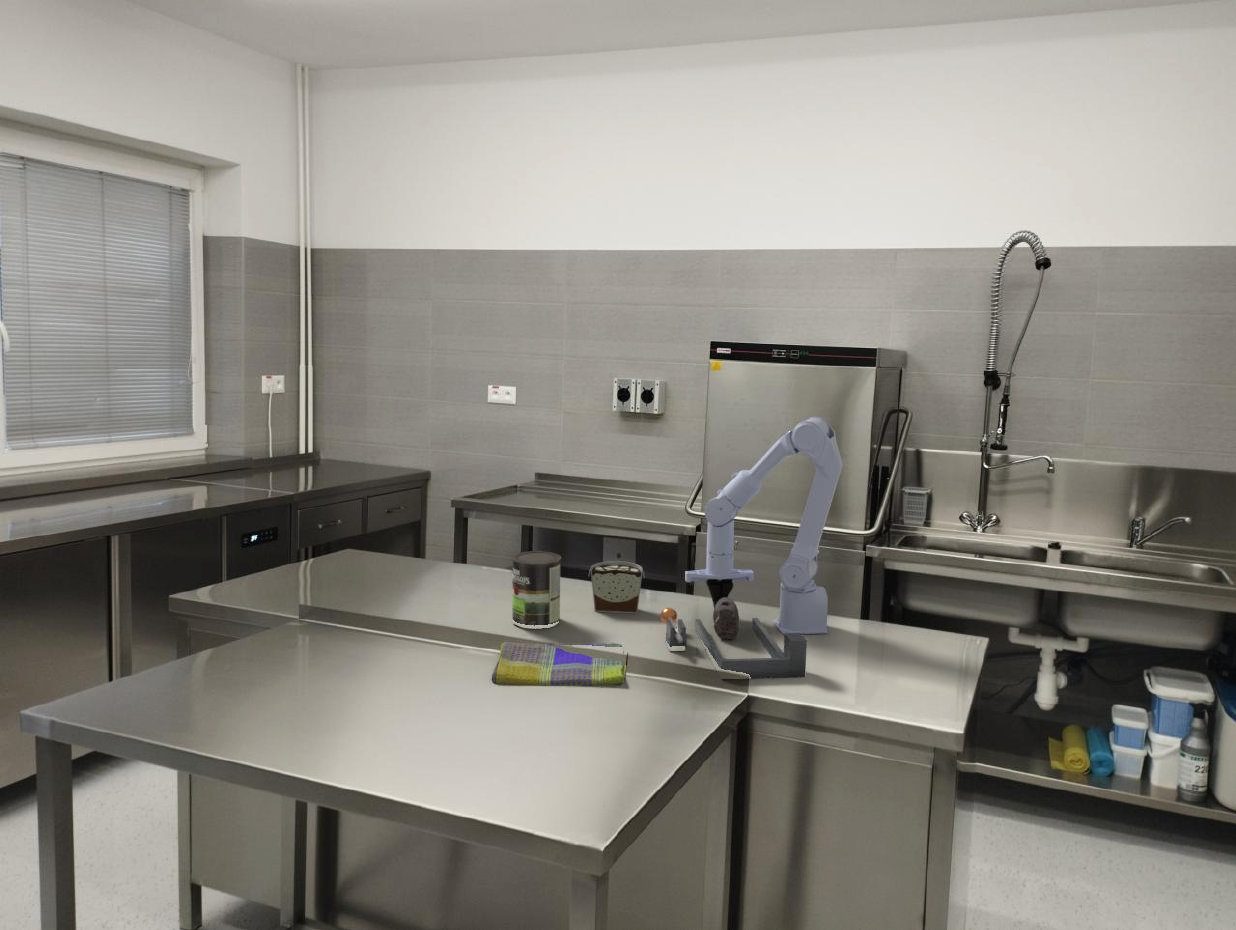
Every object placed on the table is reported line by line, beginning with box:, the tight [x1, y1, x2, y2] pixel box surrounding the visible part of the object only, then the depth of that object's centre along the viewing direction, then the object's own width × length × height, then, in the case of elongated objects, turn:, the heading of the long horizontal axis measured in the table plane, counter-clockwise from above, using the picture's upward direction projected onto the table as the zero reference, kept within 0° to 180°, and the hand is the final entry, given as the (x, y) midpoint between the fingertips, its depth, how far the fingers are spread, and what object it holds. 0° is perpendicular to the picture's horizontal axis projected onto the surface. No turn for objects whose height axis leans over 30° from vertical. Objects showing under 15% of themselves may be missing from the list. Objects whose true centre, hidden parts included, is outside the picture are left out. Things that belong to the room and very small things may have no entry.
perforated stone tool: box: [712, 596, 740, 640], centre depth 195 cm, size 15×5×7 cm, turn 174°
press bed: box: [665, 617, 808, 680], centre depth 183 cm, size 23×26×7 cm
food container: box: [587, 560, 646, 614], centre depth 209 cm, size 12×6×10 cm, turn 84°
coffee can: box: [511, 550, 562, 626], centre depth 199 cm, size 10×10×14 cm
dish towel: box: [491, 641, 627, 687], centre depth 175 cm, size 18×24×3 cm
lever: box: [660, 607, 683, 643], centre depth 188 cm, size 3×16×3 cm, turn 6°
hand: (718, 613), depth 204 cm, fingers closed
